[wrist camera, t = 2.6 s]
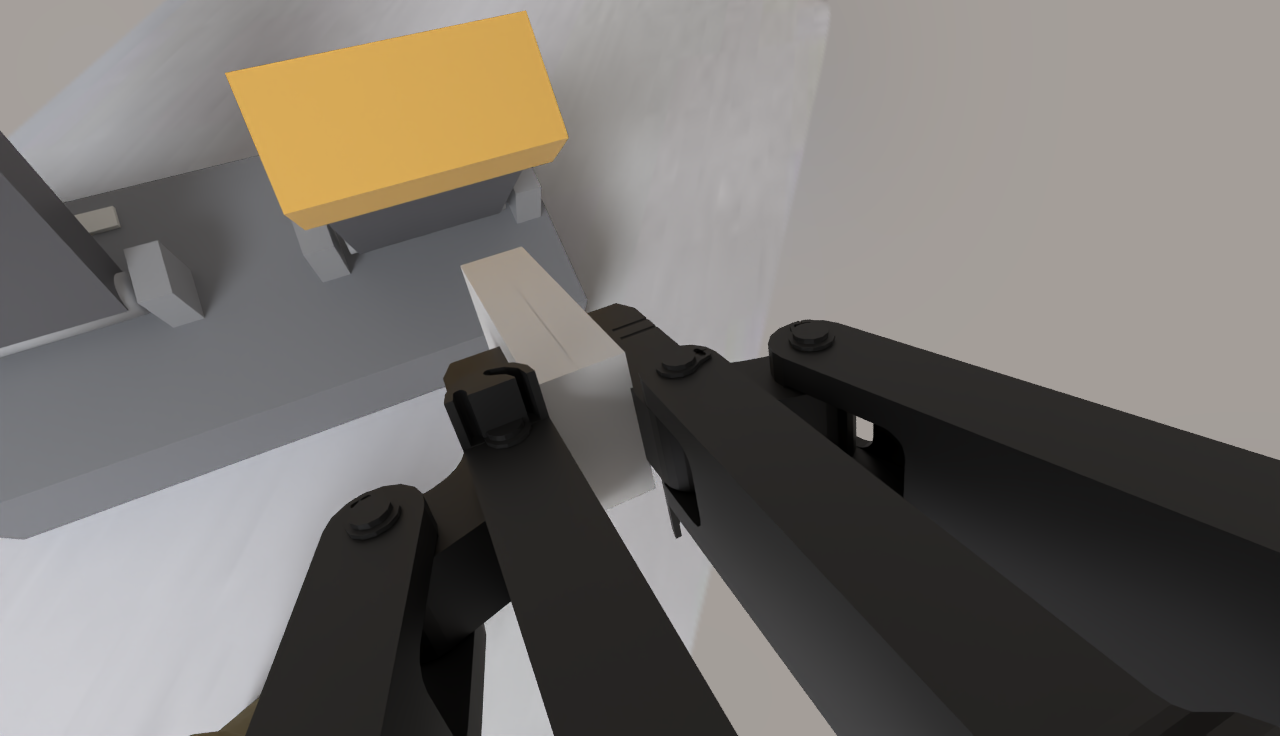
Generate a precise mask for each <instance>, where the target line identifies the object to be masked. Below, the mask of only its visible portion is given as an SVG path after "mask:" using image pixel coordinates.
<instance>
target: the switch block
mask: <svg viewBox="0 0 1280 736" xmlns="http://www.w3.org/2000/svg"><path fill="white" fill-rule="evenodd" d="M63 204H64V205H65V206H66V207H67V208H68V209H69V210H70V212H71V213H72V214H73V215H74V216H75V217H76V218H77V220H78V221H79V222H80V223H81V224H82V225H83V227H84V228H85V229H86V230H87V231H88V232H89V233H90V235H91V236H92V237H93V238H94V239H95V240H96V241H97V243H98V244H99V245H100V246H101V247H102V248H103V250H104V251H105V252H106V253H107V254H108V255H109V256H110V258H111V259H112V260H113V261H114V262H115V263H116V264H117V266H118V267H119V268H120V269H121V270H122V271H123V272H124V271H129V273H130V276H131V280H132V284H133V288H134V291H135V295H136V299H137V303H138V304H140V305H141V306H143V307H144V308H146V309H147V310H148V311H150V314H147V315H143V316H140V317H137V318H133V319H130V320H126V321H123V322H120V323H116V324H113V325H109V326H106V327H103V328H99V329H96V330H92V331H89V332H86V333H82V334H79V335H75V336H72V337H69V338H65V339H62V340H58V341H55V342H52V343H48V344H45V345H41V346H38V347H35V348H31V349H28V350H24V351H21V352H18V353H14V354H11V355H7V356H4V357H0V538H11V539H27V538H29V537H32V536H35V535H38V534H41V533H43V532H46V531H49V530H52V529H54V528H57V527H60V526H63V525H65V524H68V523H71V522H74V521H76V520H79V519H82V518H85V517H87V516H90V515H93V514H96V513H98V512H101V511H104V510H107V509H109V508H112V507H115V506H118V505H120V504H123V503H126V502H129V501H131V500H134V499H137V498H140V497H142V496H145V495H148V494H151V493H153V492H156V491H159V490H162V489H164V488H167V487H170V486H173V485H175V484H178V483H181V482H184V481H186V480H189V479H192V478H195V477H197V476H200V475H203V474H206V473H208V472H211V471H214V470H217V469H219V468H222V467H225V466H228V465H231V464H233V463H236V462H239V461H242V460H244V459H247V458H250V457H253V456H255V455H258V454H261V453H264V452H266V451H269V450H272V449H275V448H277V447H280V446H283V445H286V444H288V443H291V442H294V441H297V440H299V439H302V438H305V437H308V436H310V435H313V434H316V433H319V432H321V431H324V430H327V429H330V428H332V427H335V426H338V425H341V424H343V423H346V422H349V421H352V420H354V419H357V418H360V417H363V416H365V415H368V414H371V413H374V412H376V411H379V410H382V409H385V408H387V407H390V406H393V405H396V404H398V403H401V402H404V401H407V400H410V399H412V398H415V397H418V396H421V395H423V394H426V393H429V392H432V391H434V390H437V389H440V388H443V387H445V383H444V380H443V377H444V375H445V373H446V371H447V369H448V367H449V364H450V363H453V362H456V361H459V360H461V359H464V358H467V357H470V356H473V355H476V354H479V353H481V352H484V351H487V350H489V347H488V344H487V341H486V338H485V335H484V332H483V330H482V327H481V324H480V321H479V318H478V315H477V312H476V310H475V307H474V304H473V301H472V298H471V295H470V292H469V290H468V287H467V284H466V281H465V278H464V275H463V272H462V270H461V267H460V266H461V265H464V264H467V263H470V262H473V261H477V260H480V259H483V258H486V257H489V256H493V255H496V254H499V253H502V252H505V251H509V250H512V249H515V248H518V247H523V248H524V249H525V250H526V251H527V252H528V253H529V254H530V255H531V257H532V258H533V259H534V260H535V261H536V262H537V263H538V264H539V265H540V266H541V267H542V268H543V269H544V270H545V271H546V272H547V273H548V274H549V275H550V276H551V277H552V278H553V279H554V280H555V281H556V282H557V283H558V284H559V285H560V286H561V287H562V288H563V289H564V290H565V291H566V292H567V293H568V294H569V295H570V296H571V298H572V299H573V300H574V301H575V302H576V303H577V304H578V305H579V306H580V307H581V308H582V309H583V310H584V311H585V308H586V303H587V298H586V296H585V293H584V291H583V289H582V287H581V285H580V282H579V280H578V278H577V276H576V274H575V271H574V269H573V267H572V265H571V263H570V260H569V258H568V256H567V254H566V252H565V249H564V247H563V245H562V243H561V241H560V238H559V236H558V234H557V232H556V230H555V227H554V225H553V223H552V221H551V219H550V216H549V214H548V212H547V210H546V208H545V205H544V203H543V201H542V199H541V185H540V183H539V180H538V178H537V176H536V174H535V172H534V169H533V167H531V168H528V169H524V170H522V172H521V174H520V176H519V178H518V180H517V181H516V183H515V185H514V187H513V189H512V191H511V193H510V195H509V197H508V199H507V201H506V203H505V204H506V209H504V210H501V212H500V213H498V214H494V215H491V216H488V217H484V218H481V219H477V220H474V221H471V222H467V223H464V224H461V225H457V226H454V227H450V228H447V229H444V230H440V231H437V232H433V233H430V234H427V235H423V236H420V237H416V238H413V239H410V240H406V241H403V242H399V243H396V244H393V245H389V246H386V247H382V248H379V249H376V250H372V251H369V252H366V253H362V254H359V253H354V254H351V253H350V251H349V249H348V247H347V245H346V243H345V241H344V239H343V238H342V237H341V236H340V235H339V234H338V233H337V232H336V231H335V230H333V229H332V228H331V227H330V226H329V225H328V224H326V225H323V226H319V227H316V228H312V229H309V230H304V229H303V228H301V227H300V226H299V225H297V224H296V223H295V222H293V221H292V220H291V219H289V218H288V217H286V216H285V215H284V214H283V211H282V209H281V206H280V204H279V202H278V199H277V197H276V194H275V192H274V190H273V187H272V185H271V182H270V180H269V178H268V175H267V173H266V170H265V168H264V166H263V163H262V161H261V158H260V156H259V155H258V156H254V157H250V158H246V159H242V160H238V161H234V162H229V163H225V164H221V165H217V166H213V167H209V168H205V169H201V170H197V171H192V172H188V173H184V174H180V175H176V176H172V177H168V178H164V179H159V180H155V181H151V182H147V183H143V184H139V185H135V186H131V187H127V188H122V189H118V190H114V191H110V192H106V193H102V194H98V195H94V196H90V197H85V198H81V199H77V200H73V201H69V202H65V203H63Z"/></svg>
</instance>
